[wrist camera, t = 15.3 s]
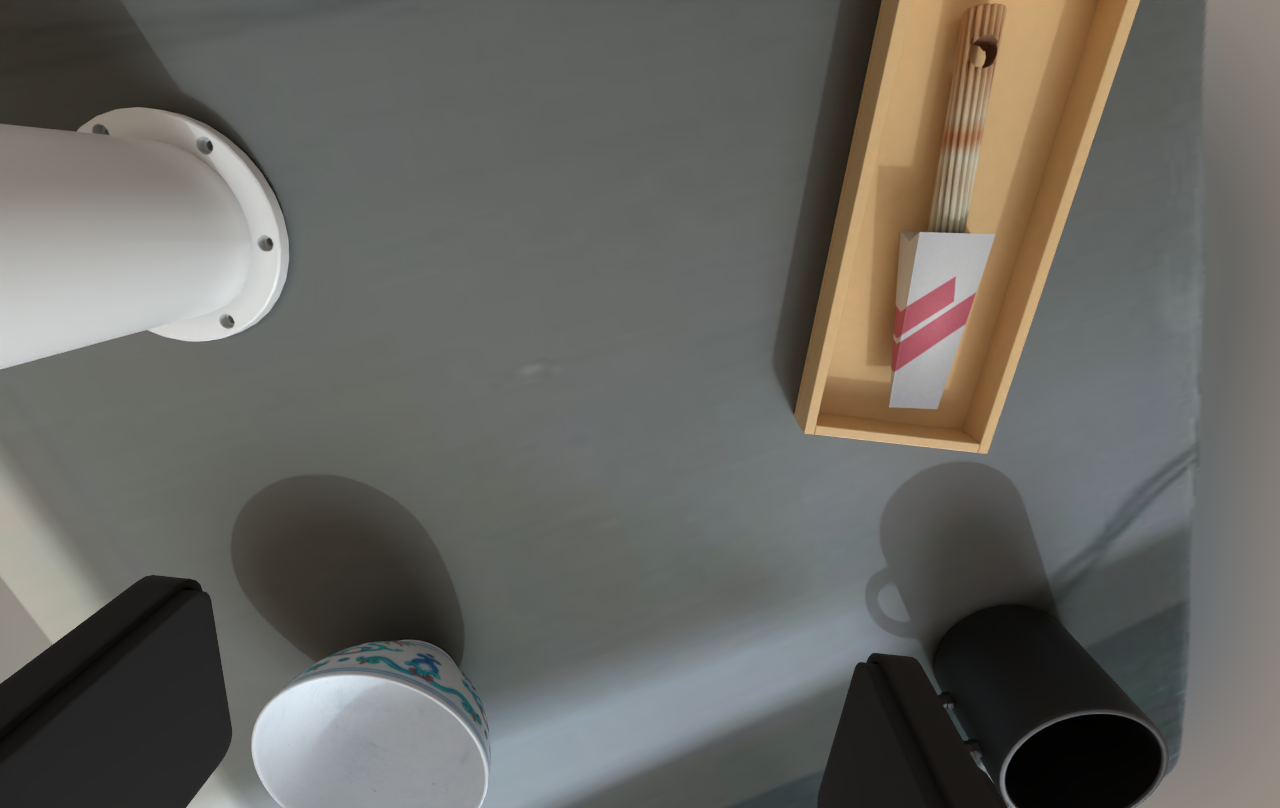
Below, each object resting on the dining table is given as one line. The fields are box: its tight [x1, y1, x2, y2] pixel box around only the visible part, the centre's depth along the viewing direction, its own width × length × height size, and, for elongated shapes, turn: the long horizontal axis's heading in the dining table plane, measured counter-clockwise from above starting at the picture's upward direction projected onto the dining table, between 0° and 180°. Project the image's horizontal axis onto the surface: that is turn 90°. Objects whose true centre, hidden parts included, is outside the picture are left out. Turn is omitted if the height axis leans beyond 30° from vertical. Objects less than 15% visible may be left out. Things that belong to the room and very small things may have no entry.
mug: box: [935, 606, 1169, 808], centre depth 39 cm, size 9×12×9 cm
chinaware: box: [251, 640, 490, 808], centre depth 41 cm, size 15×15×8 cm
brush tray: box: [794, 0, 1140, 454], centre depth 32 cm, size 11×24×3 cm, turn 174°
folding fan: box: [889, 3, 1007, 409], centre depth 31 cm, size 4×3×20 cm
